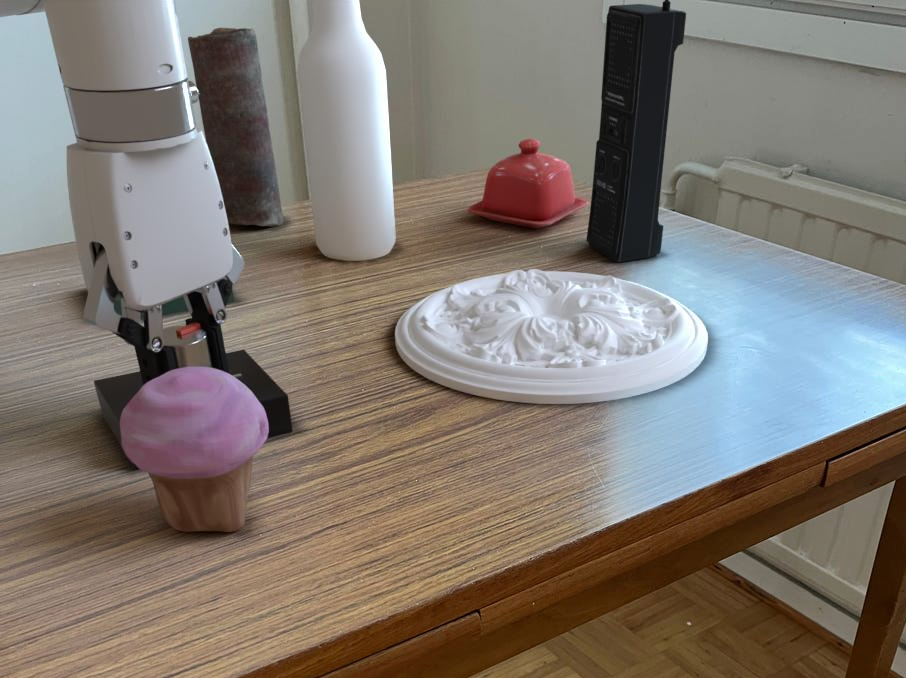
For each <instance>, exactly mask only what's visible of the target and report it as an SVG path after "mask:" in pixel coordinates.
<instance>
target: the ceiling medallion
mask: <svg viewBox="0 0 906 678" xmlns="http://www.w3.org/2000/svg"><path fill="white" fill-rule="evenodd" d="M394 340H395V348H396V351H397V354H398V355H399V357H400V358H401V360H402V361H403V362H404V363H405V364H406V365H407V366H408V367H409V368H410V369H412V370H413V371H415V372H416V373H417V374H419V375H421V376H422V377H424V378H426V379H428V380H430V381H432V382H434V383H436V384H439V385H441V386H444V387H446V388H449V389H451V390H455V391H458V392H462V393H464V394H469V395H474V396H478V397H483V398H487V399H493V400H499V401H506V402H513V403H514V402H515V403H523V404H524V403H525V404H526V403H527V404H537V405H540V404H541V405H575V404H576V405H579V404H590V403H601V402H610V401H616V400H622V399H627V398H632V397H636V396H639V395H644V394H647V393H651V392H654V391H658V390H660V389H662V388H665V387H668V386H670V385H673V384H674V383H677V382H678V381H680V380H683V379H684V378H685V377H687V376H689V375H690V374H691V373H692V372H694V370H696V369H697V368H698V367H699V366H700V365H701V364H702V362H703V360H704V358H705V356H706V354H707V350H708V342H709V335H708V331H707V328H706V325H704V323H703V321H702V320H701V319H700V318H699V316H697V315H696V314H695V313H694V312H693V311H692V310H691V309H689V308H688V307H686V306H685V305H684V304H683V303H681V302H679V301H677V300H676V299H674V298H673V297H670V296H668V295H666V294H664V293H661V292H660V291H658V290H655V289H652V288H650V287H648V286H645V285H643V284H640V283H636V282H632V281H630V280H625V279H621V278H618V277H614V276H613V275H609V274H608V275H601V274H594V273H586V272H578V271H577V272H575V271H562V270H561V271H560V270H559V271H558V270H557V271H556V270H541V269H537V268H530V269H528V270H527V271H524V270H522V269H515V270H514V269H513V270H512V271H510V272H507V273H499V274H492V275H487V276H482V277H477V278H473V279H469V280H465V281H462V282H458V283H456V284H453V285H449V286H447V287H446V288H442V289H440V290H438V291H436V292H433V293H432V294H429V295H428V296H426V297H424V298H422V299H420V300H419V301H418V302H417V303H415V304H413V305H412V306H411V307H409V308H408V309H407V310H406V311H405V312H404V313H403V314H402V315H401V316H400V317H399V319H398V321H397V322H396V325H395V331H394Z"/></svg>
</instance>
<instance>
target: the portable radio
mask: <svg viewBox="0 0 906 678" xmlns="http://www.w3.org/2000/svg"><path fill="white" fill-rule="evenodd" d="M671 4H672V3H671V1H670V0H664V1H662V6H659V5H654V4H645V3H632V4H631V3H630V4H617V5H616V4H615V5H610V6H609V7H608V11H607V12H608V13H607V14H606V21H605V24H606V25H605V39H604V54H603V68H602V82H601V96H600V97H601V98H600V100H601V105H600V106H601V108H600V121H599V135H598V140H597V141H596V143H595V144H596V145H595V155H594V157H595V158H594V165H593V177H592V178H593V179H592V188H591V198H590V206H589V207H590V209H589V217H588V224H587V232H586V240H585V241H586V242H587V243H588V246H590V247H591V248H592V249H594V250H595V251H597V252H599V253H601V254H602V255H605V256H606V257H608V258H609V259H611V260H613V261H614V262H617V263H624V262H630V261H637V260H643V259H648V258H652V257H654V256H657V255H659V254H661V251H662V243H663V234H664V225H663V224H661V223H660V222H659V211H660V200H661V191H662V190H661V189H662V181H663V180H662V179H663V170H664V161H665V150H666V140H667V130H668V123H669V111H670V102H671V94H672V93H671V92H672V91H671V90H672V81H673V73H674V72H673V71H674V63H675V55H676V50H677V49H678V48H679V46H681V45H683V44H684V40H685V39H684V38H685V30H686V20H687V12H686V11H684V10H678V9H673V8H671Z"/></svg>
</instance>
